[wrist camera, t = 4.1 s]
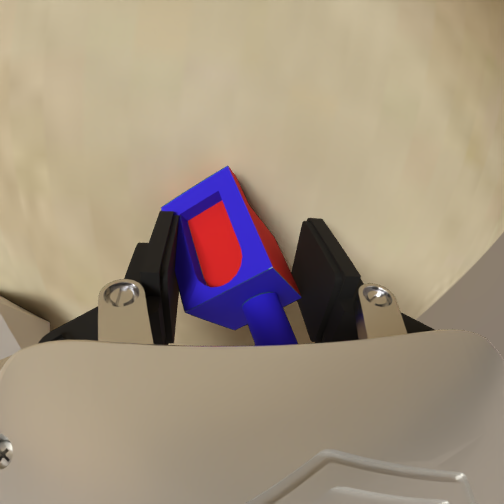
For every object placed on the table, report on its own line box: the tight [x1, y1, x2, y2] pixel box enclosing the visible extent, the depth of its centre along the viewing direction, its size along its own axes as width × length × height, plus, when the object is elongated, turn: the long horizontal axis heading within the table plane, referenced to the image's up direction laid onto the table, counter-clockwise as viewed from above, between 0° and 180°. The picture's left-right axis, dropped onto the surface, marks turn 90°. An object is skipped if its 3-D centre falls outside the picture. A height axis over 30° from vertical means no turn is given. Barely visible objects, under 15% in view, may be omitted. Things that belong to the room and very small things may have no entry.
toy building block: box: [161, 166, 301, 346], centre depth 11 cm, size 3×4×7 cm
